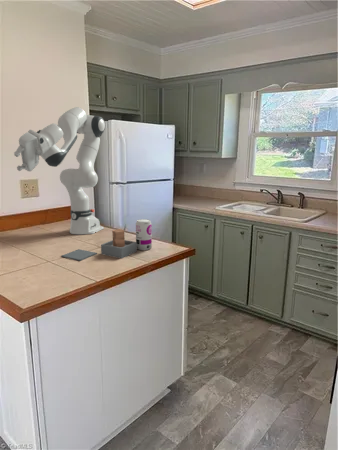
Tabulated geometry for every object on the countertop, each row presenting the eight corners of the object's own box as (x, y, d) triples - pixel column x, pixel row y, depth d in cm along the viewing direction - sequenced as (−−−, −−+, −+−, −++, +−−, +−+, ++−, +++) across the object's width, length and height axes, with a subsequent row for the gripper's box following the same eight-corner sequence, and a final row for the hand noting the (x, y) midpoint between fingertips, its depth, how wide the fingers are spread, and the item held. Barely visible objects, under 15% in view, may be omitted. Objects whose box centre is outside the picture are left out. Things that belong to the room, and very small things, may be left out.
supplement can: (154, 247, 178) (154, 219, 175) (146, 251, 171) (146, 223, 167) (141, 245, 181) (140, 218, 178) (133, 249, 174) (132, 221, 171)
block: (112, 245, 168) (112, 230, 166) (121, 244, 170) (120, 229, 168) (116, 247, 164) (115, 232, 162) (124, 246, 166) (124, 231, 164)
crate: (116, 248, 176) (116, 238, 175) (136, 252, 171) (136, 242, 169) (101, 255, 166) (101, 244, 164) (121, 259, 160) (121, 248, 158)
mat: (78, 250, 171) (78, 249, 171) (96, 253, 166) (96, 252, 166) (61, 256, 161) (61, 255, 161) (80, 260, 156) (80, 259, 155)
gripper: (33, 157, 167) (14, 174, 159) (29, 126, 151) (7, 142, 143) (44, 164, 167) (25, 180, 159) (41, 133, 150) (19, 149, 142)
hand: (16, 162), depth 151 cm, fingers open, 8 cm apart
